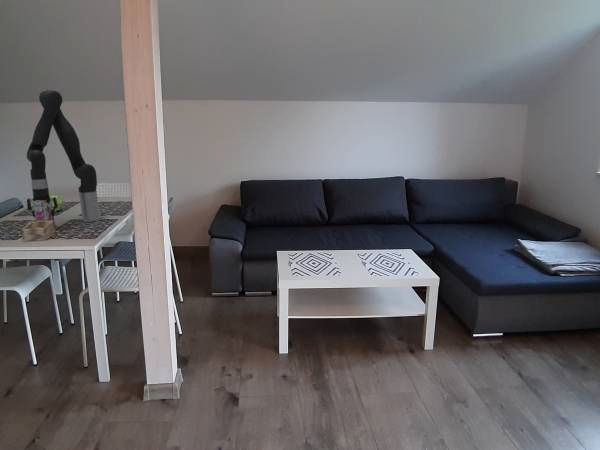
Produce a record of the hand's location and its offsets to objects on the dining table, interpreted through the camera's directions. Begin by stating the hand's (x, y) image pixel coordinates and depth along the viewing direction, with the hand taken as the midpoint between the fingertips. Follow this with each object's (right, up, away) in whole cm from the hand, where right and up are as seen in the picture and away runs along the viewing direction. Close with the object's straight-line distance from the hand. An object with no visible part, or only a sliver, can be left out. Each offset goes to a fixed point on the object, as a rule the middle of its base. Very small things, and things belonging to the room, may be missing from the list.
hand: (44, 216), depth 242 cm
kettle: (-20, +4, +43) cm, 47 cm away
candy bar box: (0, -7, +2) cm, 7 cm away
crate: (+5, -10, -13) cm, 17 cm away
